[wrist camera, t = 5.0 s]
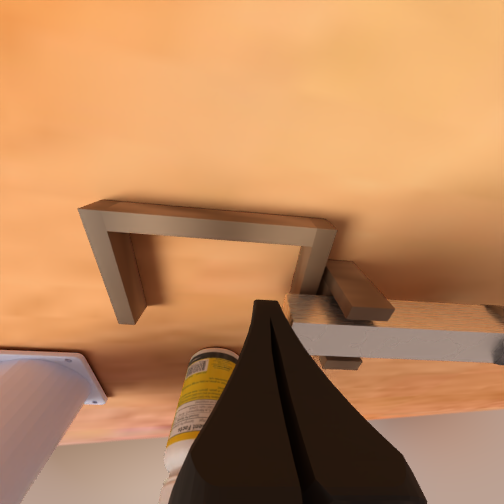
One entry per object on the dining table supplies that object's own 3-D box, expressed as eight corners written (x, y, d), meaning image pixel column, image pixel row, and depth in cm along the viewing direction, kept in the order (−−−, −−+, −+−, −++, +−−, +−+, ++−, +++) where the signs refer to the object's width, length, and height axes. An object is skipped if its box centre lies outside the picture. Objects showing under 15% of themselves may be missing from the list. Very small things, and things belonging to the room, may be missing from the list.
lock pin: (276, 319, 12) (284, 370, 10) (285, 280, 11) (297, 327, 8) (461, 329, 13) (518, 378, 10) (493, 294, 12) (571, 341, 9)
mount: (132, 305, 13) (91, 361, 10) (101, 199, 10) (21, 229, 6) (330, 316, 14) (356, 371, 11) (368, 222, 11) (427, 259, 7)
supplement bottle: (237, 379, 18) (229, 533, 11) (188, 373, 18) (145, 532, 10) (248, 349, 16) (248, 517, 9) (192, 341, 16) (143, 515, 8)
